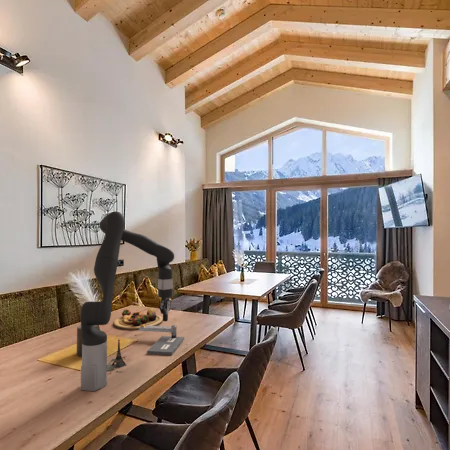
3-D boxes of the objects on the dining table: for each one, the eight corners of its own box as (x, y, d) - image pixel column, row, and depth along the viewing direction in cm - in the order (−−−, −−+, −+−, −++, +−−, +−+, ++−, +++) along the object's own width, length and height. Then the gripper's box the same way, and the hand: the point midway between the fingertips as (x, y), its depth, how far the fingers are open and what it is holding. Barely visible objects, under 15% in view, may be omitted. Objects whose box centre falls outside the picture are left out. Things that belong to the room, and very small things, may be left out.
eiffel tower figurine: (112, 359, 150) (112, 331, 150) (133, 359, 150) (133, 331, 150) (100, 373, 135) (100, 343, 135) (123, 373, 135) (123, 343, 135)
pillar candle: (89, 357, 151) (90, 326, 151) (72, 356, 153) (72, 325, 153) (101, 350, 160) (101, 321, 161) (84, 348, 162) (85, 320, 163)
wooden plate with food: (106, 322, 210) (106, 310, 210) (148, 313, 231) (148, 302, 231) (126, 335, 186) (126, 321, 186) (171, 323, 207) (171, 311, 207)
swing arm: (138, 336, 176) (138, 325, 176) (141, 334, 180) (141, 323, 180) (175, 338, 172) (175, 326, 173) (177, 336, 176) (177, 324, 177)
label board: (172, 355, 154) (172, 351, 154) (147, 353, 155) (147, 350, 155) (184, 339, 175) (184, 336, 175) (162, 338, 177) (162, 335, 177)
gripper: (162, 285, 168) (162, 317, 168) (153, 289, 155) (153, 324, 155) (176, 285, 167) (176, 317, 167) (168, 290, 154) (168, 325, 153)
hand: (165, 320), depth 161 cm, fingers closed
